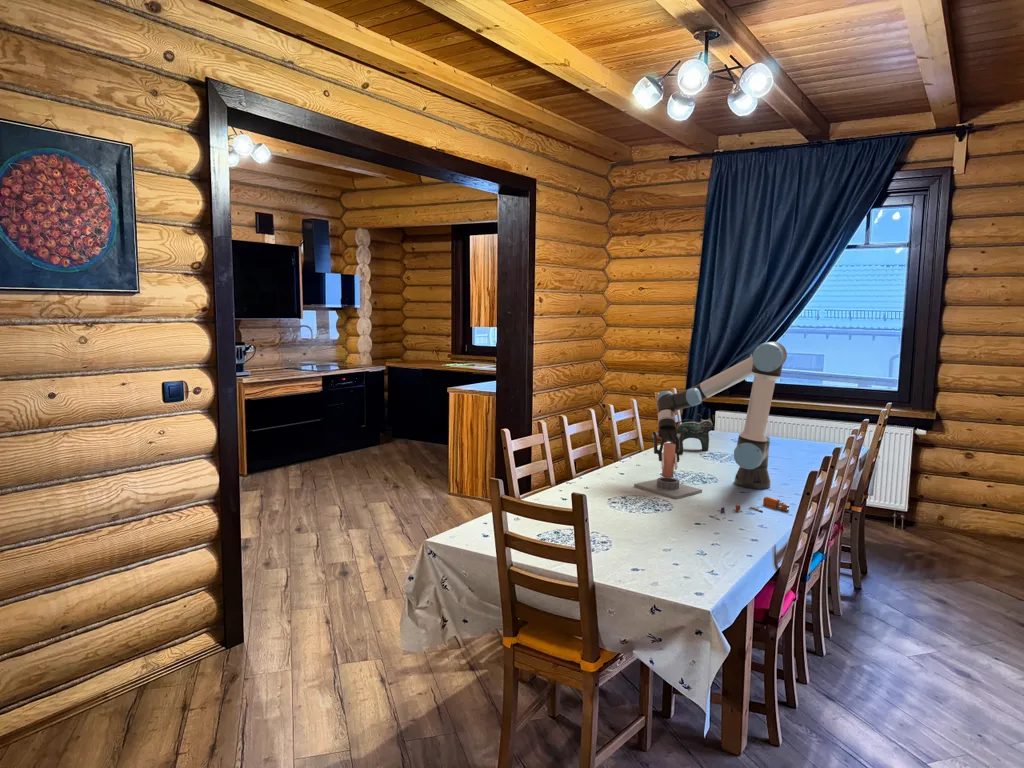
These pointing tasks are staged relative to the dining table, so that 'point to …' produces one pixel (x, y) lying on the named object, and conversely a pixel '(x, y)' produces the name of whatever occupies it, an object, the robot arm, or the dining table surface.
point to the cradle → (668, 487)
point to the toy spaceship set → (766, 501)
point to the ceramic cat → (695, 431)
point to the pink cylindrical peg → (668, 460)
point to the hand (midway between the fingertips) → (669, 467)
